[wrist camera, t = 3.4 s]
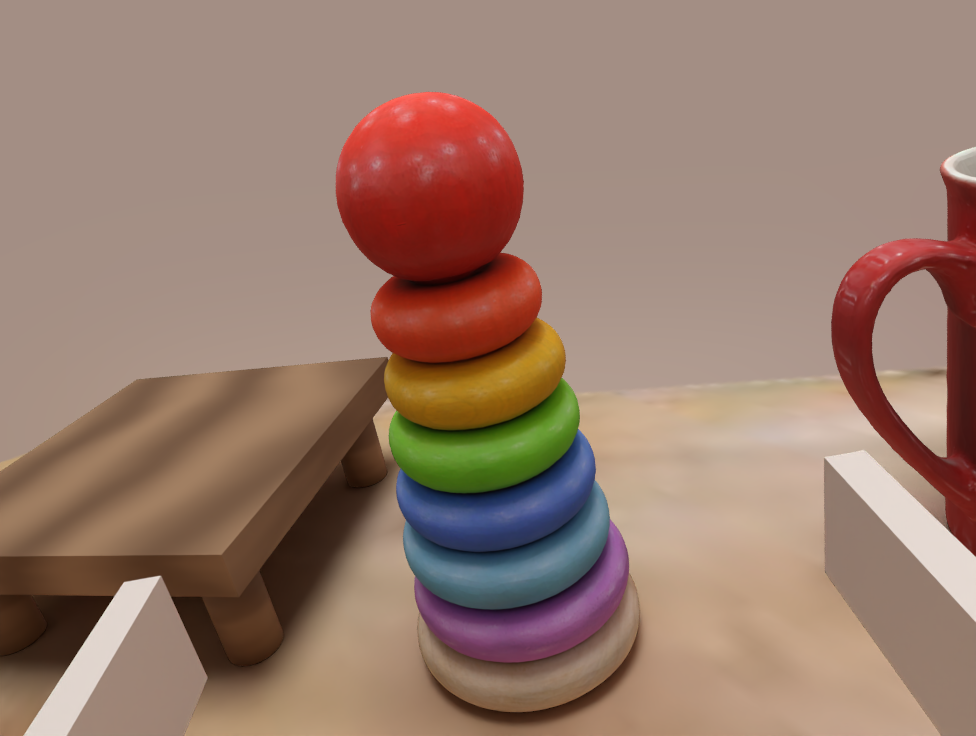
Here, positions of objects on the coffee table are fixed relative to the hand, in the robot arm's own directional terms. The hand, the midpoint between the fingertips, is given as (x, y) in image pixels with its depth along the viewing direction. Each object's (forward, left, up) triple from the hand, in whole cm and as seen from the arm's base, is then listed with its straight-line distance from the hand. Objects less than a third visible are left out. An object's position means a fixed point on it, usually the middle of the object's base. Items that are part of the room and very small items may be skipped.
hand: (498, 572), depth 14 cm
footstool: (-19, +14, -10) cm, 26 cm away
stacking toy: (-2, +9, -10) cm, 14 cm away
